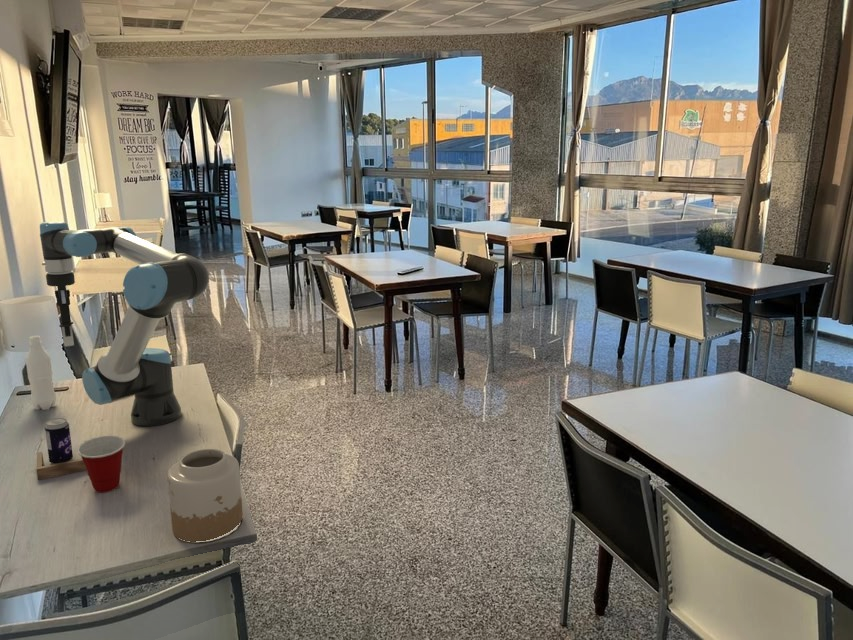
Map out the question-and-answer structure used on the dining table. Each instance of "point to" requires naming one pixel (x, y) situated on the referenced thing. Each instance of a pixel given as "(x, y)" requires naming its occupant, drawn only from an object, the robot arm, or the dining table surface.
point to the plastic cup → (103, 461)
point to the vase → (204, 495)
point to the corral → (57, 467)
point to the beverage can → (58, 440)
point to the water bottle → (40, 375)
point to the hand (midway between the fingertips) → (69, 345)
